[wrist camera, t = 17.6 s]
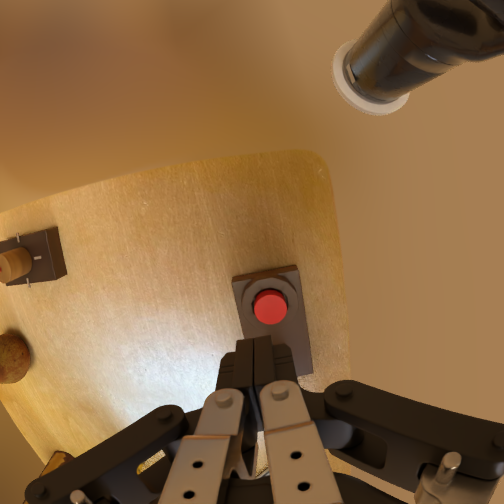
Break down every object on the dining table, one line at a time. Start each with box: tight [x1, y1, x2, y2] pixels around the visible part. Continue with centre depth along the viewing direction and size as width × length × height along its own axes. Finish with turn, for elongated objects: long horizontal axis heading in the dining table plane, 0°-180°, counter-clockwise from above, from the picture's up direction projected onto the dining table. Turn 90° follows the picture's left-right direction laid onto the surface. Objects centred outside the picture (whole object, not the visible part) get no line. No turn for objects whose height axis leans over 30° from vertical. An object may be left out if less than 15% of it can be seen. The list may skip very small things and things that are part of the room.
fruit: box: [0, 334, 30, 384], centre depth 36 cm, size 9×9×12 cm
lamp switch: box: [254, 290, 287, 324], centre depth 34 cm, size 4×4×2 cm
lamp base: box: [232, 265, 313, 377], centre depth 37 cm, size 15×8×4 cm, turn 11°
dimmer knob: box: [0, 247, 32, 283], centre depth 32 cm, size 4×4×5 cm
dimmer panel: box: [0, 227, 67, 288], centre depth 36 cm, size 12×8×3 cm
